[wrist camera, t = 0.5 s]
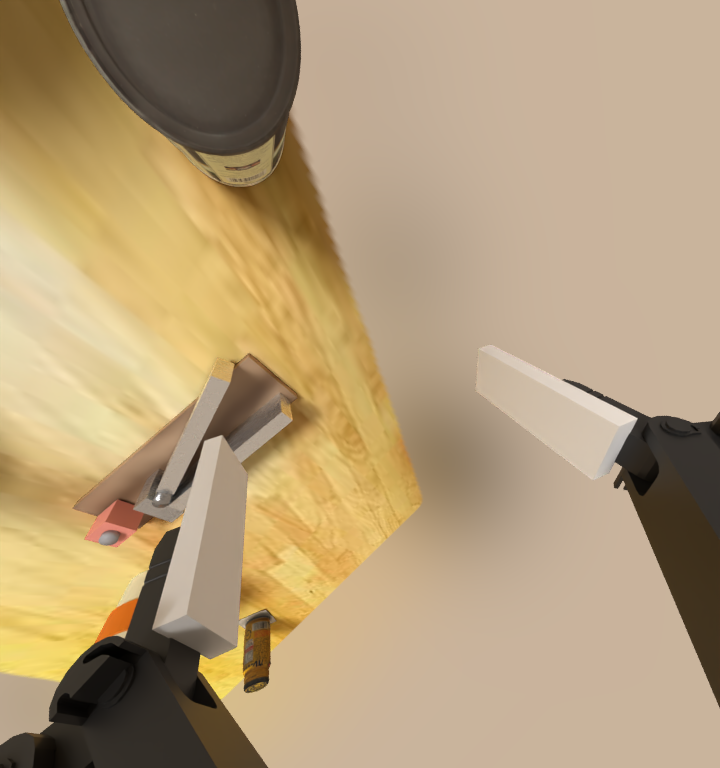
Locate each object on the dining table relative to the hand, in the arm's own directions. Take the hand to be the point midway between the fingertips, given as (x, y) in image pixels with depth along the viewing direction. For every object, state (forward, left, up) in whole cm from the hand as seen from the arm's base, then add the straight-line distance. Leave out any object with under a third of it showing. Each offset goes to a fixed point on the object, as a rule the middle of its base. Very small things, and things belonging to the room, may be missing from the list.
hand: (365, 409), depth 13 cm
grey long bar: (+7, -22, -24) cm, 33 cm away
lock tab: (+5, -40, -24) cm, 47 cm away
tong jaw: (+2, -21, -23) cm, 32 cm away
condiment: (+52, -63, -25) cm, 86 cm away
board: (+5, -26, -25) cm, 37 cm away
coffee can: (-17, +5, -25) cm, 30 cm away
